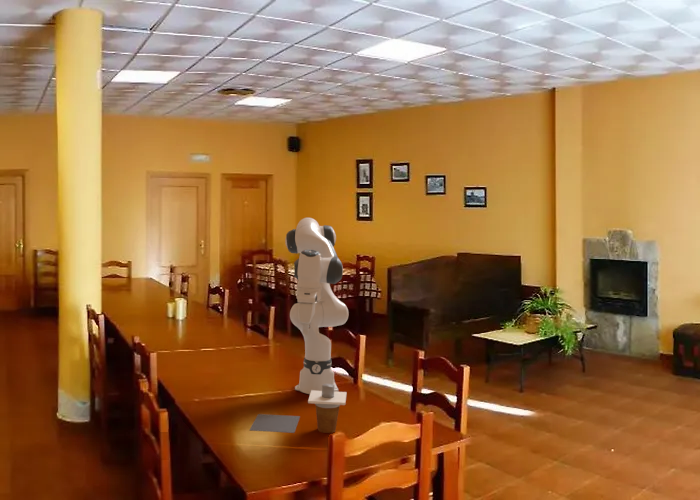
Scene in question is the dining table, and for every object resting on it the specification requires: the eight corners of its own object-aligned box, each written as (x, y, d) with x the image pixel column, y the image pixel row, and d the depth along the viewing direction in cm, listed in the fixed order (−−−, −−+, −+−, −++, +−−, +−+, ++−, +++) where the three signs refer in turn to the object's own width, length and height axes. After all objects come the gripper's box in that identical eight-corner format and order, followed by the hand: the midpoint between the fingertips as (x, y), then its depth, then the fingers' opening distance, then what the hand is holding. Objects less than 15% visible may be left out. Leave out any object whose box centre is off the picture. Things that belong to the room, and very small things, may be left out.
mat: (258, 415, 254) (258, 414, 254) (300, 417, 253) (300, 416, 253) (249, 431, 236) (249, 430, 236) (294, 434, 235) (294, 432, 235)
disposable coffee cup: (339, 427, 245) (340, 395, 244) (339, 436, 235) (341, 403, 234) (313, 426, 244) (314, 394, 243) (312, 435, 235) (314, 402, 234)
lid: (311, 392, 246) (311, 379, 245) (346, 394, 245) (347, 381, 245) (308, 403, 233) (308, 389, 232) (345, 405, 232) (345, 391, 232)
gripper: (302, 289, 256) (301, 324, 257) (297, 298, 236) (295, 336, 237) (319, 290, 256) (317, 325, 257) (314, 299, 236) (313, 337, 237)
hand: (306, 331), depth 247 cm, fingers open, 8 cm apart
